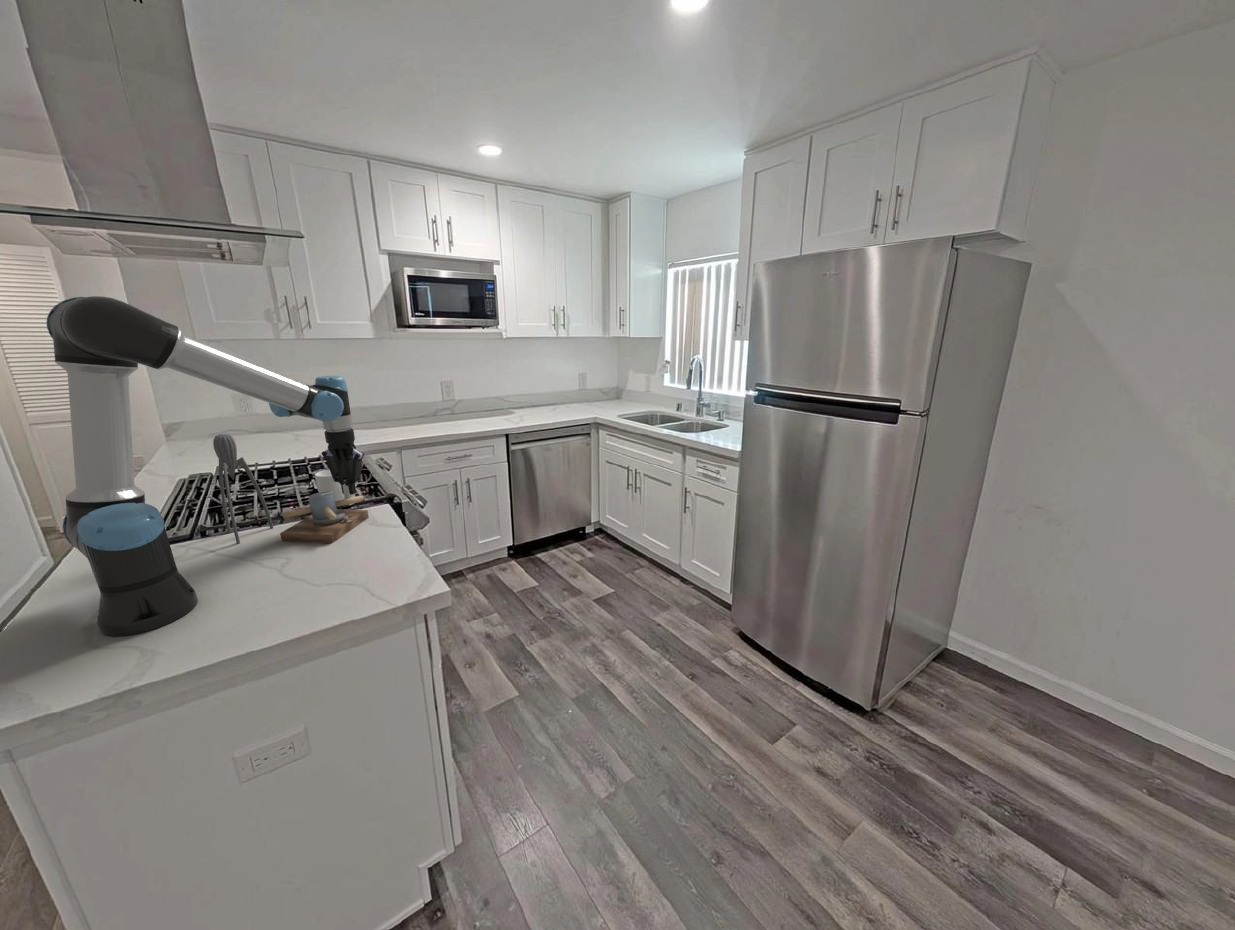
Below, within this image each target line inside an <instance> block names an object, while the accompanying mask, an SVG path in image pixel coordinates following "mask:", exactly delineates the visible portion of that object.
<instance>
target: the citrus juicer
mask: <svg viewBox="0 0 1235 930" xmlns="http://www.w3.org/2000/svg"><path fill="white" fill-rule="evenodd" d="M212 442H213V443H212V444H213V449H214V452H215V455H216V457H217V458H218V459H217V460H218V477H219V478H218V480H219V488H220V489H219V490H220V497H221V505H222V510H223V516H224V522H225V526H226V530H227V533H228V534H231V533H232V530H231V525H230V520H229V514H230V519H231V523H232V529H233V533H234V538H235V542H236V545H239V544H241V541H240V535H239V532H238V527H237V523H236V518H235V513H234V512H235V511H234V509H233V502H232V497H231V492H230V491H231V490H230V483H229V476H230V478H231V479H232V480H233V481H234V480H235V474H236V468H238V467H240V466H241V467H242V468H243V470H244V471H245V472H246V474H247V476H248V477H249V479H250V481H251V483H252V485H253V487H254V488H255V491H256V493H257V495H258V498H259V500H260V503H261V505H262V507H263V509H264V513H265V515H266V516H265V517H266V518H267V522H268V526H269V528H270V529H274V525H273V520H272V517H271V513H270V511H269V509H268V506H267V503H266V500H265V498H264V495H263V493H262V490H261V489H260V487H259V484H258V483H257V480H256V478H255V477H254V475H253V472H252V470H251V468H250V467H249V466H248V464H247V462H246V460H245V459H244V457H243V456H241V457H240V458H238V449H237V444H236V441H235V439H234V437H233V436H232V435H231V434H228V433H219V434H217V435H215V436H214V438H213V441H212ZM237 458H238V459H237ZM228 475H229V476H228ZM224 483H225V484H224ZM224 485H225V486H224ZM225 490H226V491H225ZM225 492H226V496H225ZM226 497H227V503H228V509H229V514H228V509H227V504H226Z"/></svg>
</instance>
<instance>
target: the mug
mask: <svg viewBox="0 0 1235 930" xmlns="http://www.w3.org/2000/svg"><path fill="white" fill-rule="evenodd" d="M314 478H315V479H314V480H315V483H316V489H317V492H318V493H320V492H333V493H334V497H335V501H338V500H343V499H345V496H344V494H343V493H342V488H341V484H340V483H339V482H334V480H333V477H332V475H331V472H330V470H329V469H325V470H320V471H318V472H316V473H314ZM358 482H359V481H358ZM358 482H356V483H355V488H357V486H358Z"/></svg>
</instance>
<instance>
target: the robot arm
mask: <svg viewBox="0 0 1235 930" xmlns="http://www.w3.org/2000/svg"><path fill="white" fill-rule="evenodd" d="M46 329H47V331H48V334H49V335H50V337H51V339H52V342H53V354H54V362H55V364H56V365H58V366H59V367H60V368H62V369H63V370H65V371H66V373H67V385H68V399H69V410H70V411H69V412H70V426H71V439H72V451H73V452H72V455H73V466H74V467H73V468H74V477H75V482H74V483H75V488H74V490H72V491H71V492H69V493H68V494H66V495H65V508H66V513H65V515H64V518H63V521H62V533H63V535H64V537H65V539H66V541H67V542H68V543H69V544H70V545H71V546H73V547H74V548H75V549H76V550H77V551H78V552H80V553H81V554H82V555H83V556H84V557H85V558H87V560H88V563H89V565H90V569H91V570H92V573H93V577H94V578H95V582H96V584H97V587H98V589H99V593H100V596H99V605H98V615H97V619H96V623H97V626H98V628H99V629H98V630H99V632H100V633H101V634H102V635H104V636H109V637H123V636H131V635H132V636H133V635H136V634H140V633H144V632H149V631H151V630H152V631H153V630H154V629H157V628H158V629H159V628H160V627H163V626H165V625H168V624H169V623H172V622H174V621H176V620H178V619H180V618H182V617H184V616H185V615H187V614H188V613H190V612H191V611H192V610H194V608H195V607H197V604H198V601H199V600H198V596H197V593H196V589H194V587H192V586H191V585H190V583H189V582H188V581H187V580H186V579H185V578H184V576H183V575H182V574H181V573H180V572H179V570H178V567H177V564H176V559H175V557H174V554H173V550H172V548H171V547H172V546H171V544H170V543H171V542H170V541H169V538H168V537H169V536H168V534H167V530H166V527H165V524H166V523H165V520H164V518H163V516H162V515H161V512H160V511H159V509H158V508H157V507H156V506H153V505H151V504H148V503H146V497H145V491H143V490H142V489H141V488H139V487H137V485H135V474H134V472H135V471H134V454H133V453H134V452H133V438H132V437H133V436H132V419H131V401H130V400H131V399H130V381H129V378H130V377H129V376H130V375H131V374H133V373H134V372H135V371H137V370H138V369H139V365H142V366H145V367H149V368H152V369H155V370H158V371H159V370H162V369H170V370H173V371H176V372H179V373H182V374H184V375H188V376H191V377H193V378H197V379H198V380H202V381H206V382H208V383H211V384H214V385H217V386H219V387H222V388H225V389H228V390H232V391H233V392H237V393H240V394H243V395H245V396H248V397H251V398H254V399H257V400H261V401H262V402H266V403H268V405H269V408H270V410H271V412H272V414H273V415H274V416H276V417H279V418H285V417H286V418H287V417H288V418H290V417H292V416H293V417H294V416H299V417H304V418H310V419H314V420H318V421H320V422H322V427H323V430H325V431H324V437H325V443H326V444H328V445H327V449H326V450H324V451H322V452H321V456H322V457H323V459H325V462H326V464H327V467H328V470H330V472H331V475H332V477H333V480H334V482H339V483H340V484H341V488H342V493H343V494H344V496H345V497H344V499H347V498H352V497H356V493H357V490H356V489H357V487H355V483H356V482H361V479H362V478H361V477H362V464H363V458H364V456H365V453H364V452H363V451H361V452H360V451H358V449H357V446H356V445H355V440H356V438H355V432H354V431H355V430H354V429H353V428H352V427H353V420H352V413H351V406H350V398H349V391H348V386H347V383H346V380H345V378H344V376H341V375H324V376H323V375H322V376H317V377H316V378H315V382H314V384H311V385H310V384H306V383H305V382H302V381H300V380H297V379H294V378H293V377H290V376H287V375H284V374H283V373H280V372H277V371H276V370H275V371H274V370H273V369H270V368H267V367H265V366H263V365H261V364H258V363H255V362H253V361H250V360H248V359H245V358H243V357H240V356H238V355H235V354H234V353H231V352H228V351H226V350H223V349H220V348H218V347H216V346H213V345H210V344H209V343H205V342H203V341H202V340H198V339H196V338H193V337H190V336H188V335H186V334H184V333H183V331H182V330H181V328H180V327H179V326H177V325H175V324H172V323H170V322H167V321H165V320H163V319H160V318H159V317H156V316H154V315H152V314H150V313H148V312H146V311H143V310H142V309H139V308H137V307H135V306H133V305H131V304H129V303H127V302H124V301H122V300H119V299H116V298H113V297H108V296H99V295H98V296H97V295H96V296H95V295H94V296H77V297H76V296H75V297H71V298H68V299H64V300H62V301H60V302H59V303H57V304H55V305H54V306H53V307H52V309H51V310H50V311H49V312H48V313H47V316H46ZM138 364H139V365H138ZM354 504H355V503H352V504H348V505H347V506H351V505H354Z"/></svg>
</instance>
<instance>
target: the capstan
mask: <svg viewBox="0 0 1235 930" xmlns="http://www.w3.org/2000/svg"><path fill="white" fill-rule="evenodd" d="M307 498H308V502H309V506H307V507H304V508H299V509H293V510H290V511H286V512H285V511H284V512H282V513H281V514H282V518H283V520H287V519H291V518H295V517H300V516H304V515H308V514H311V515H312V518H313V523H314V524H316V525H328V524H333V523H337V522H340V521H342V520H343V518H344V517H345V516H346V515H345V511H344V510H345V509H341V510H337V509H338V507H343V506H349V505H348V504H352V503H354V504H355V503H360V502H362V501H364V497H363V495H358V496H356V495H355V497H352V498H347V499H345V498H344V499H343V500H338V501H335V497H334V493H333V492H320V493H319V492H316V493H313V494H311V495H309V496H308V497H307ZM352 505H353V504H352Z"/></svg>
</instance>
